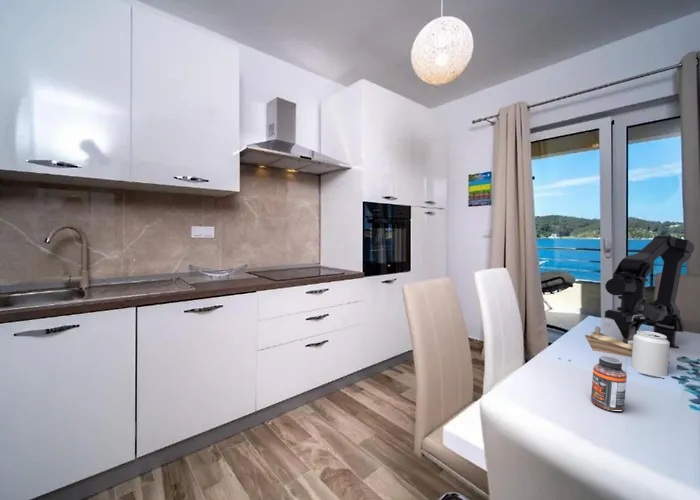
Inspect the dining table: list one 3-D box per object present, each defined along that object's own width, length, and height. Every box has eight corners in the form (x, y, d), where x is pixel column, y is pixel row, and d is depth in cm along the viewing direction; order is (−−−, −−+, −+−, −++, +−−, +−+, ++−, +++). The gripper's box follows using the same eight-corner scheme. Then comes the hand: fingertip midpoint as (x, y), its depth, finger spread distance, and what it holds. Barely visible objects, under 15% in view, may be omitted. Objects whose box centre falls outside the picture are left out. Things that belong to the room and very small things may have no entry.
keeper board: (584, 337, 119) (585, 325, 118) (651, 347, 109) (652, 334, 108) (592, 353, 102) (593, 339, 102) (672, 367, 92) (673, 352, 92)
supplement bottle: (584, 399, 73) (587, 354, 73) (606, 398, 74) (609, 353, 73) (607, 414, 67) (610, 364, 67) (631, 413, 68) (635, 364, 67)
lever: (587, 336, 116) (589, 317, 115) (595, 335, 117) (596, 316, 117) (643, 354, 99) (645, 331, 99) (651, 352, 100) (653, 330, 100)
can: (674, 381, 83) (678, 338, 83) (642, 378, 85) (646, 336, 84) (653, 369, 91) (656, 330, 90) (624, 366, 92) (627, 328, 92)
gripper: (646, 300, 93) (641, 349, 94) (679, 298, 100) (674, 343, 101) (605, 293, 104) (601, 337, 105) (637, 291, 110) (634, 333, 111)
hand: (628, 338), depth 105 cm, fingers open, 3 cm apart
